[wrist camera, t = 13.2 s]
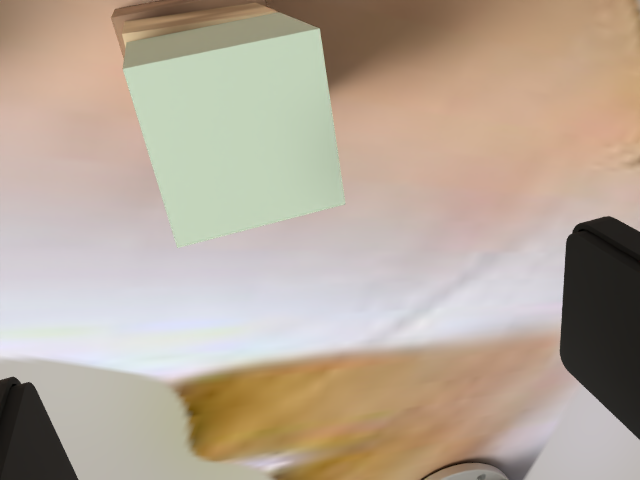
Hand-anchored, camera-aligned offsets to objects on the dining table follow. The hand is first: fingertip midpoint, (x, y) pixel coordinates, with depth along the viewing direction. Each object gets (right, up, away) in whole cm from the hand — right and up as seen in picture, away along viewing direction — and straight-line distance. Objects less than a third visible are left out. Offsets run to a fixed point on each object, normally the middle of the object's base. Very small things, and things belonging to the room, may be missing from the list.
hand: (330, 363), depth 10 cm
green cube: (-4, +8, +14) cm, 17 cm away
